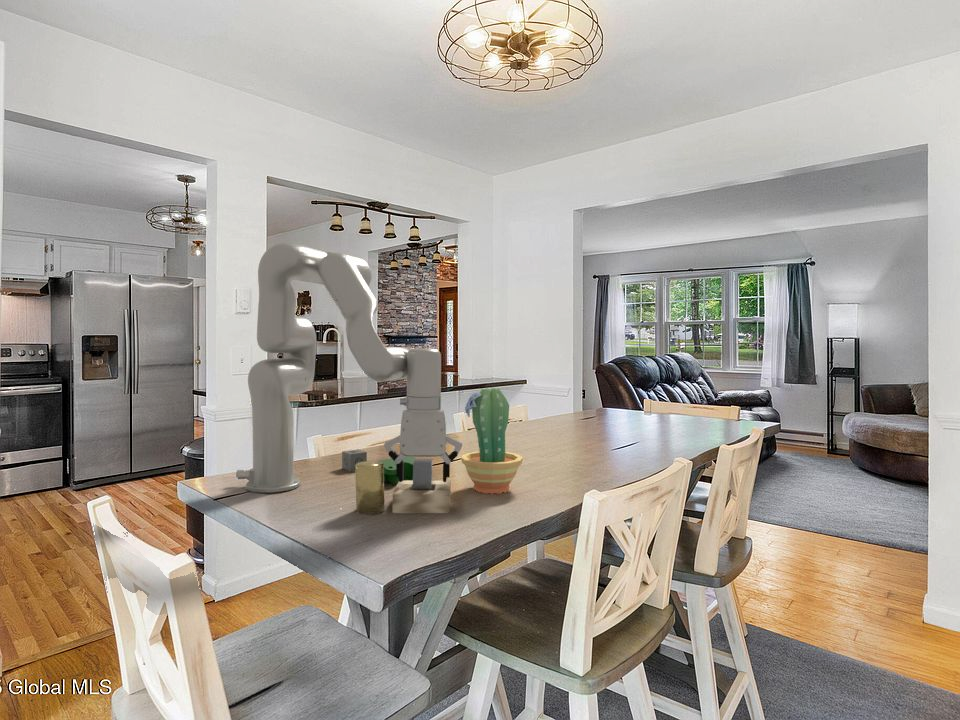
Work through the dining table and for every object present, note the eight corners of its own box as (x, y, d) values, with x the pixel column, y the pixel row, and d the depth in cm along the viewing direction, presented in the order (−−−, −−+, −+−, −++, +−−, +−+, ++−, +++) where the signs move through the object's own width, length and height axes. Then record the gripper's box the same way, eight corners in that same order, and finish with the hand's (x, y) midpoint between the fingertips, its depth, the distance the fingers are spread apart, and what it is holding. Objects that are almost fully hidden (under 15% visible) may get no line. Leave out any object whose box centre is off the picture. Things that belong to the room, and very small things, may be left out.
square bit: (412, 507, 126) (413, 462, 126) (414, 502, 130) (414, 458, 130) (431, 507, 127) (431, 462, 126) (431, 502, 130) (432, 458, 130)
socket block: (392, 513, 122) (392, 494, 122) (399, 497, 134) (399, 480, 134) (449, 513, 123) (449, 494, 122) (450, 497, 135) (450, 480, 134)
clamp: (390, 502, 146) (382, 474, 142) (377, 491, 150) (370, 464, 146) (427, 478, 152) (421, 450, 148) (414, 468, 156) (408, 441, 152)
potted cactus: (480, 478, 153) (481, 384, 152) (533, 486, 146) (534, 387, 145) (448, 491, 140) (449, 389, 139) (504, 501, 132) (506, 392, 131)
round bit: (353, 514, 121) (352, 467, 121) (359, 505, 127) (358, 461, 127) (381, 514, 121) (380, 467, 121) (387, 505, 127) (386, 460, 127)
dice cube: (342, 468, 163) (342, 451, 163) (357, 466, 166) (357, 449, 166) (350, 472, 159) (350, 454, 159) (366, 469, 162) (366, 452, 162)
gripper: (382, 405, 124) (381, 484, 124) (462, 406, 124) (461, 485, 125) (386, 401, 131) (386, 476, 132) (462, 402, 132) (462, 476, 132)
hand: (423, 480), depth 128 cm, fingers open, 9 cm apart
